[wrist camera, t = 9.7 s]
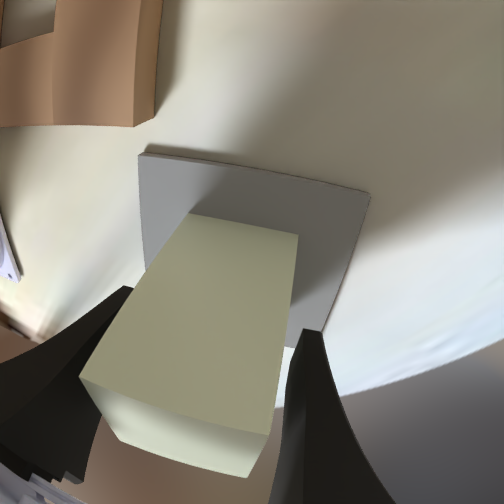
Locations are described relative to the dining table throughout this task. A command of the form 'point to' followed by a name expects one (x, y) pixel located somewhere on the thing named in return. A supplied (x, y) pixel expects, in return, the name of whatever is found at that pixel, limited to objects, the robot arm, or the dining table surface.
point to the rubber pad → (259, 220)
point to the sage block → (200, 346)
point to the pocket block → (84, 66)
